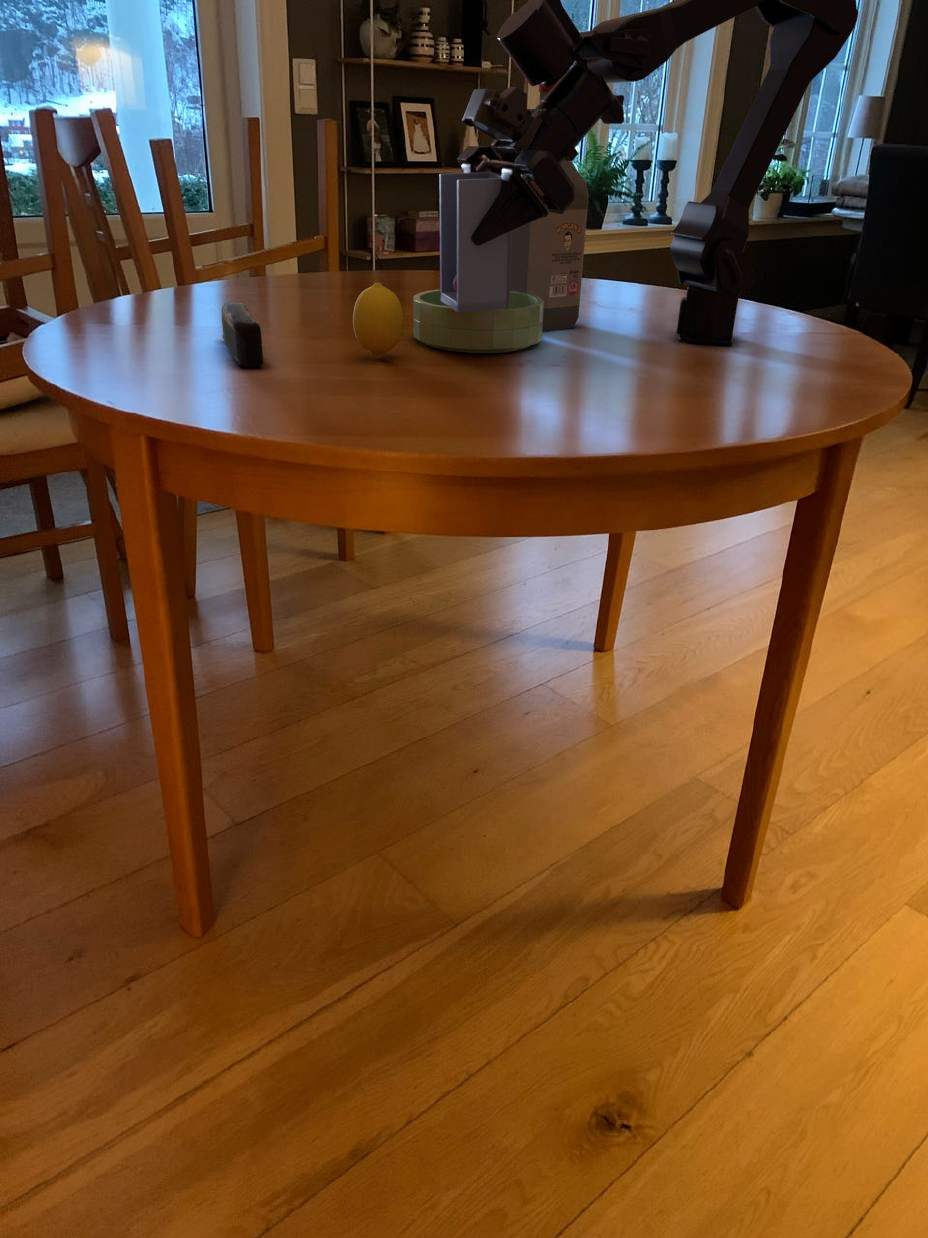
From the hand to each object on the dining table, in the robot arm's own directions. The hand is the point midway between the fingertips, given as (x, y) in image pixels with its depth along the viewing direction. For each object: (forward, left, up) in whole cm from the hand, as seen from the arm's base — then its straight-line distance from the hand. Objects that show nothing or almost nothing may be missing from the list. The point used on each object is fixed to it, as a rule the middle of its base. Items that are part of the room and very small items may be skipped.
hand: (460, 238), depth 96 cm
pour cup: (-2, -1, -7) cm, 7 cm away
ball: (-1, +1, -4) cm, 5 cm away
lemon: (+8, +4, -13) cm, 16 cm away
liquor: (-5, -23, -13) cm, 27 cm away
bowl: (0, -9, -12) cm, 15 cm away
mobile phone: (+23, +8, -13) cm, 28 cm away
